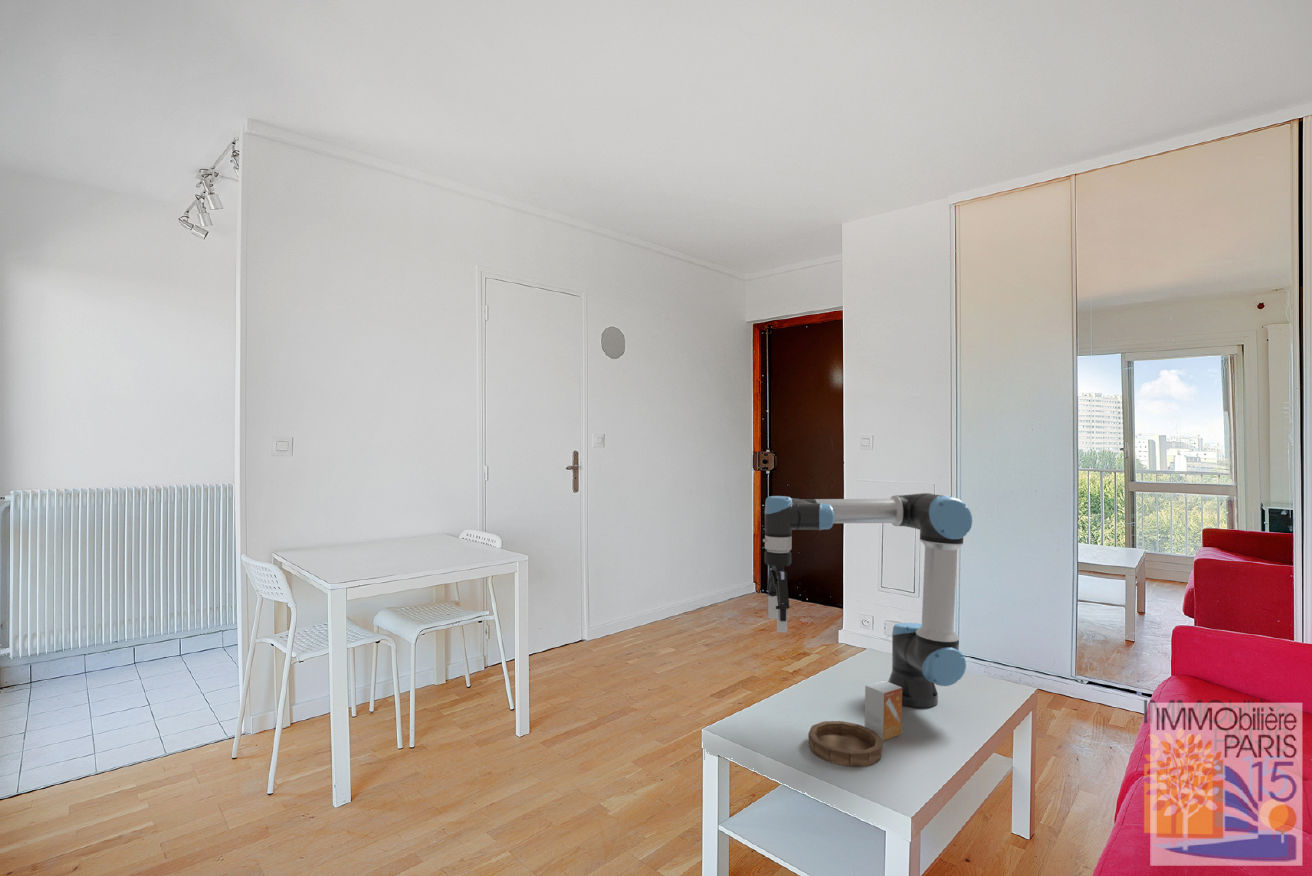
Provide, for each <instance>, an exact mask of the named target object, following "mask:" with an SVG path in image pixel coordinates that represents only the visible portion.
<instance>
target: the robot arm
mask: <svg viewBox="0 0 1312 876" xmlns="http://www.w3.org/2000/svg"><path fill="white" fill-rule="evenodd" d="M764 506H765V507H764V537H765V538H762V542H763V543H764V549H765V551H764V563H765V565H767V566H768V570H769V571H768V579H767V587H766V591H767V594H768V595H767V596H768V601H767V602H768V605H767V607H768V608H767V609H768V611H767V612H768V614H767V615H768V619H776V633H788V614H789V613H788V609H790V607H791V606H790V599H789V597H790V596H789V588H788V572H787V571H785V567H789V566H791V564H792V552H791V550H792V545H793V544H792V541H793V540H792V539H793V538H792V536H793V535H792V534H793V533H792V531H794V530H795V531H797V530H801V531H802V530H803V531H805V530H807V531H808V530H811V531H813V530H817V531H822V530H831V528H832V527H833V525H834V524H892V526H893V527H907V528H911V529H916V530H919V541H920V542H921V543H922V544H923V545H924V565H923V586H922V588H923V589H922V590H923V591H922V610H921V623H917V622H916V623H915V622H914V623H913V622H899V623H896V624H894V625H893V627H892V634H891V640H892V642H891V643H892V653H891V654H892V655H891V656H892V657H891V660H892V661H891V662H892V663H891V664H892V666H891V673H890V676H889V678H888V680H887V682H889V683H892V684H895V685H897V686H900V687H902V706H905V707H912V708H921V709H922V708H924V709H925V708H931V707H935V706H936V705H937V704H938V703H939V694H938V690H937V687H936V686H940V687H948V686H949V687H950V686H953V685H954V684H956V683H957V682H959V681H960V680H961V679H962V678H963V677H964V675H965V672H966V669H967V660H966V658H965V656H964V654H963V653H962V652H961V651H960V649H959V647H960V645H959V644H960V637H959V636H958V635H957V634H956V633H955V631H954V628H955V627H954V626H955V609H956V608H955V606H956V605H955V604H956V584H957V583H956V580H957V563H958V562H957V560H958V559H957V558H958V557H957V556H958V549H959V548H960V547H962V546H963V545H964V537H966V536H967V534H968V532H970V531H971V529H972V526H973V516H972V515H973V514H972V512H971V510H970V508H969V506H968V505H967V504H966V503H964V502H963V501H962V500H961V499H959V498H955V497H952V496H950V495H943V494H933V493H929V492H927V493H912V494H901V495H898V494H897V495H892V496H891V497H890V498H821V499H820V498H814V499H811V498H807V499H806V498H805V499H800V498H799V497H798V498H791V497H790V496H786V495H784V496H783V495H771V496H768V497H766V499H765V504H764Z"/></svg>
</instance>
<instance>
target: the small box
mask: <svg viewBox="0 0 1312 876" xmlns="http://www.w3.org/2000/svg"><path fill="white" fill-rule="evenodd" d="M864 686H865V687H864V688H865V689H864V691H865V692H864V693H865V694H864V697H865V698H864V699H865V700H864V703H865V704H864V727H866V728H868V729H870V730H873V731H875V732H876V733H877V734H878V736H879V737H880V738H881V739H882V740H883V742H884V741H886V740H889V739H891V738H894V737H897V736H900V735H902V721H903V720H902V715H903V713H902V712H903V709H902V708H903V705H902V687H900V686H897V685H895V684H892V683H889V682H888V680H887V681H886V680H881V681H877V682H873V683H870V684H868V685H864Z"/></svg>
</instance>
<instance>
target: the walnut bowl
mask: <svg viewBox="0 0 1312 876" xmlns="http://www.w3.org/2000/svg"><path fill="white" fill-rule="evenodd" d="M807 737H808V739H807V741H808V744H809V749H810V750H811V752H812V753H813V754H814V755H816V756H817V757H818V758H820V759H821V760H824V761H825V762H828V763H831V764H835V765H838V766H843V767H849V768H850V767H852V768H862V767H869V766H873V765H875V764H877V763H879V762H880V761H881V759H882V754H883V742H884V741H883V740H882V739H881V738H880V737H879V736H878V734H877V733H876V732H875V731H873V730H870V729H868V728H866V727H865V725H861V724H858V723H854V722H849V721H844V720H828V721H827V720H826V721H821V722H818V723H816V724H813V725H811V726H810V729H809V731H808V736H807Z"/></svg>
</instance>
